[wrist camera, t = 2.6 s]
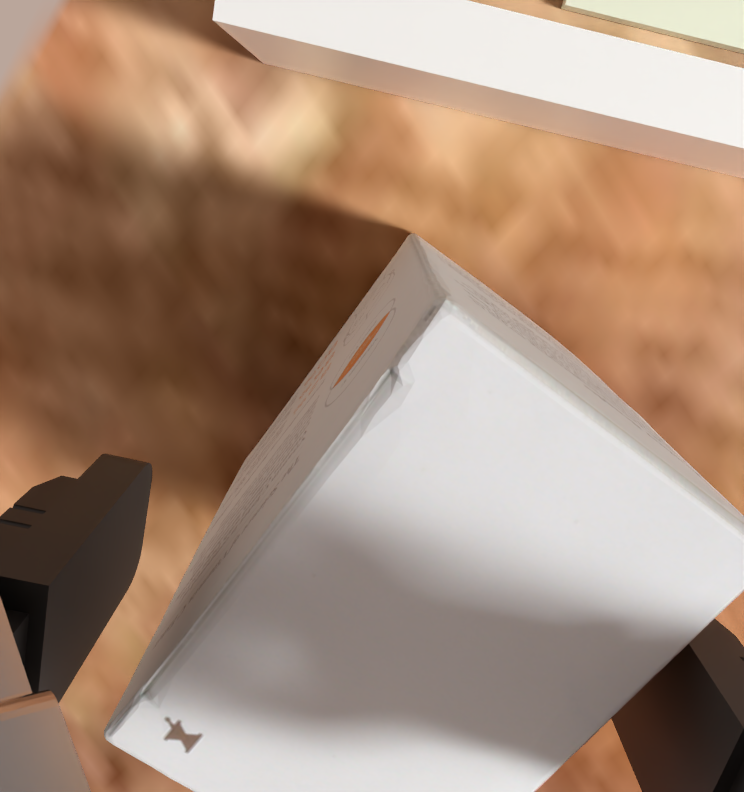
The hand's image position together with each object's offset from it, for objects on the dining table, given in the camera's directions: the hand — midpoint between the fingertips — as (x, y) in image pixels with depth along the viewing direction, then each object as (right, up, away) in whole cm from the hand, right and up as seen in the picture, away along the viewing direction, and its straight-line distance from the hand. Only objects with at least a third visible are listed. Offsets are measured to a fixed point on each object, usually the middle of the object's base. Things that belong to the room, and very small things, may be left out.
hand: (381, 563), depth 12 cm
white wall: (+7, +9, +5) cm, 13 cm away
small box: (+1, +3, +8) cm, 8 cm away
